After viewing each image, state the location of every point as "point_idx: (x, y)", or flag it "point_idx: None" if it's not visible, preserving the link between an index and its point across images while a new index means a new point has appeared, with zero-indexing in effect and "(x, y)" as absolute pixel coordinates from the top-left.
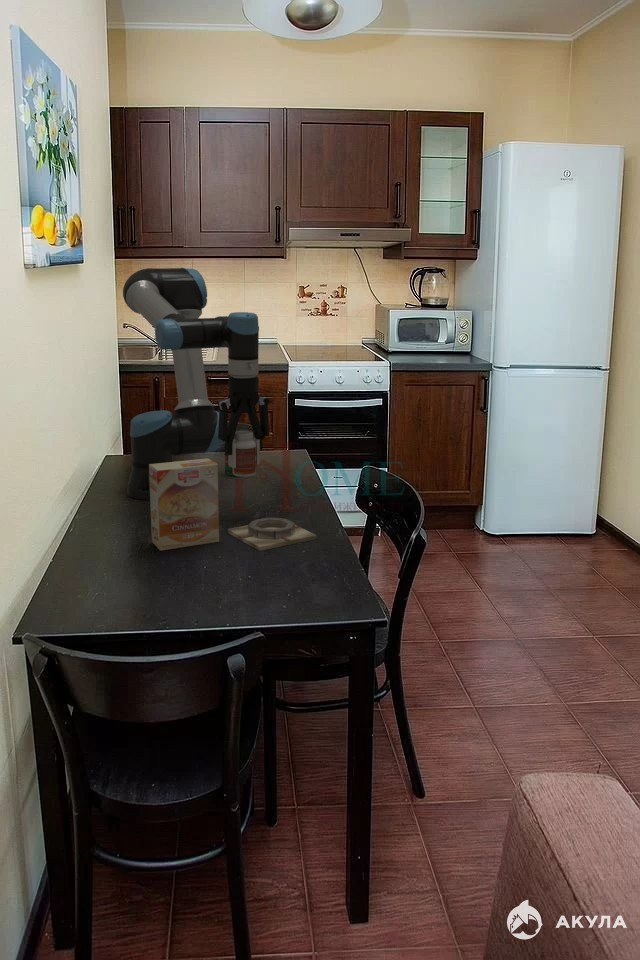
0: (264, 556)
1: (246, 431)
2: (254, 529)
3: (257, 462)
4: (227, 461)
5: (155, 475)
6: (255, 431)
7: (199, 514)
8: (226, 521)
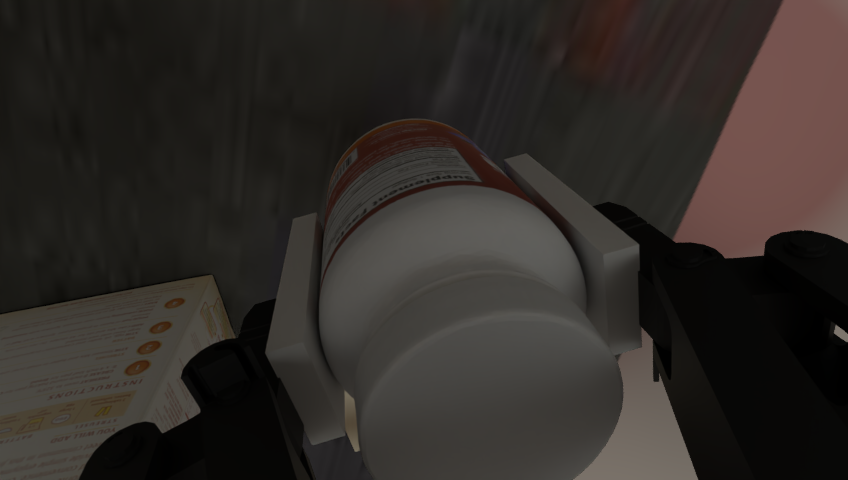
0: (359, 474)
1: (553, 382)
2: None
3: None
4: None
5: None
6: (676, 373)
7: None
8: (299, 134)
